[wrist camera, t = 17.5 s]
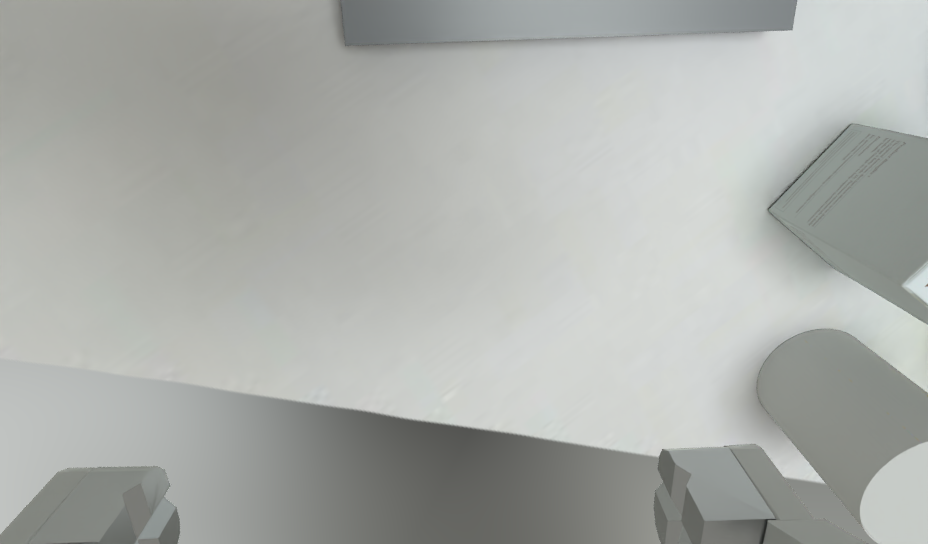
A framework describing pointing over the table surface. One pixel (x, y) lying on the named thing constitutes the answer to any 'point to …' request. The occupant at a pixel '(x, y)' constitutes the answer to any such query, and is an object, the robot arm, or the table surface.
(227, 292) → the table surface
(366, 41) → the power strip
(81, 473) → the robot arm
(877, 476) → the cup
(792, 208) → the supplement box
